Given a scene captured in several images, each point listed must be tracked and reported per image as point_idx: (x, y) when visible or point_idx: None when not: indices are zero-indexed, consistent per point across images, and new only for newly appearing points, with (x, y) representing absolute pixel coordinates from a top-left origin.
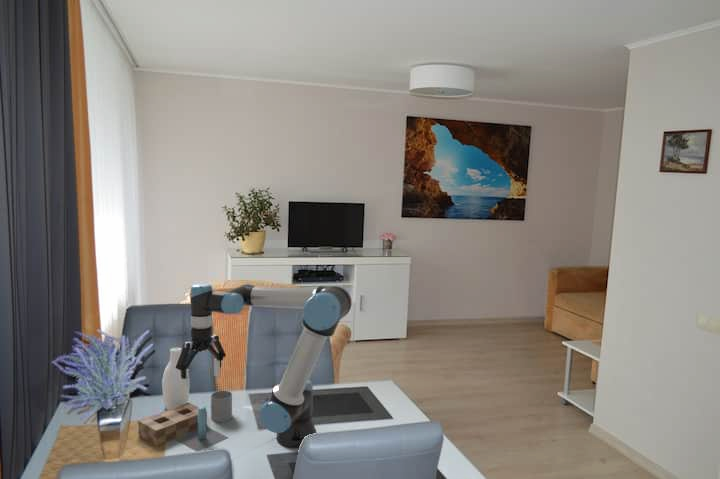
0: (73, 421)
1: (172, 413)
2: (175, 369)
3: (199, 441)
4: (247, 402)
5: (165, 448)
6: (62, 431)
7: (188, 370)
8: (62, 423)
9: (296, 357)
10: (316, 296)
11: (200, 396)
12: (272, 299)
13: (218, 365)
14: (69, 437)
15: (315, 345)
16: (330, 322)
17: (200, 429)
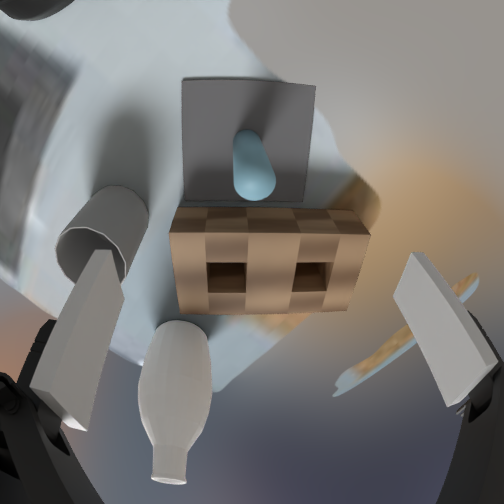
0: (345, 379)
1: (261, 291)
2: (183, 426)
3: (265, 132)
4: (29, 242)
5: (349, 182)
6: (377, 362)
7: (487, 361)
8: (356, 380)
9: None
10: None
11: (112, 336)
12: None
13: (64, 341)
14: (389, 344)
15: None
16: None
17: (262, 145)
